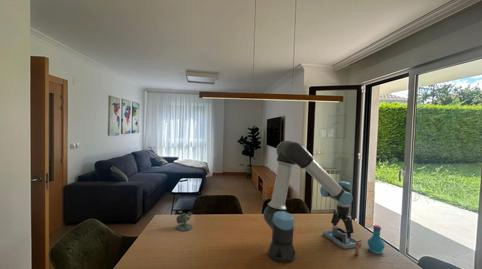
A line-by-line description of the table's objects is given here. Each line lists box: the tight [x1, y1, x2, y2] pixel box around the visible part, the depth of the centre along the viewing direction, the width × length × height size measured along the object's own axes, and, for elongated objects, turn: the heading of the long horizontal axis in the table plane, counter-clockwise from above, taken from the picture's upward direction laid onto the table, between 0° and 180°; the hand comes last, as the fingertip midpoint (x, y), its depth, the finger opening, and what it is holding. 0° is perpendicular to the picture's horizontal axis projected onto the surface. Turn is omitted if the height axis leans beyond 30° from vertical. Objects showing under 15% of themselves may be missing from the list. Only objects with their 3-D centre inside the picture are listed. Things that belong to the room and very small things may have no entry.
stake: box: [354, 239, 362, 256], centre depth 142 cm, size 4×2×9 cm, turn 110°
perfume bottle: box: [367, 224, 385, 254], centre depth 147 cm, size 9×9×15 cm
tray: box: [322, 229, 362, 250], centre depth 159 cm, size 13×20×2 cm, turn 20°
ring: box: [331, 226, 352, 243], centre depth 159 cm, size 10×8×6 cm
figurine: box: [175, 210, 193, 232], centre depth 167 cm, size 11×11×12 cm
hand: (341, 238), depth 159 cm, fingers closed on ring, 10 cm apart
